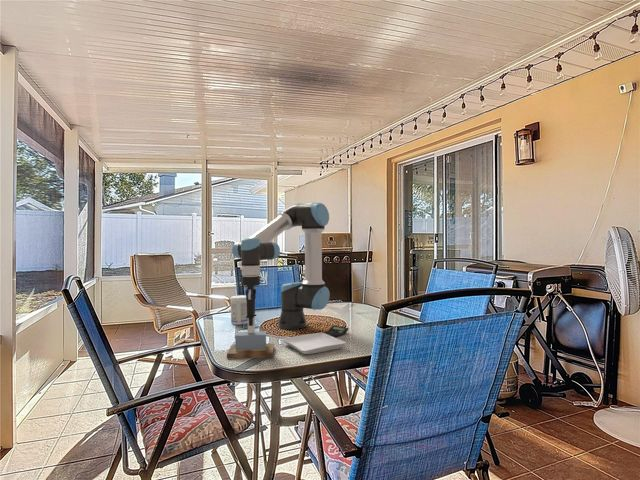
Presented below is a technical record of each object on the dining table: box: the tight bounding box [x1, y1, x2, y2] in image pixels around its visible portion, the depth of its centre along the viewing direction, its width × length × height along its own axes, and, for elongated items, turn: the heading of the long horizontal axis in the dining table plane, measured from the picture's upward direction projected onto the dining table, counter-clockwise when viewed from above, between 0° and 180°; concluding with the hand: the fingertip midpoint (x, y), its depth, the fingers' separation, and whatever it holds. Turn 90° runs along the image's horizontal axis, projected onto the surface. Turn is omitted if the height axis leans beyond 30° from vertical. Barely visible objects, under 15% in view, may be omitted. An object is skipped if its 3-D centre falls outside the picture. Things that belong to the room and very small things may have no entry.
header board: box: [226, 343, 275, 359], centre depth 156 cm, size 18×12×6 cm, turn 94°
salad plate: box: [282, 332, 347, 355], centre depth 164 cm, size 21×21×3 cm
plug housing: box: [234, 330, 267, 351], centre depth 155 cm, size 12×6×6 cm, turn 94°
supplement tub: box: [230, 294, 248, 326], centre depth 208 cm, size 10×10×15 cm
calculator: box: [322, 324, 349, 339], centre depth 184 cm, size 9×12×3 cm
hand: (251, 332), depth 155 cm, fingers closed
